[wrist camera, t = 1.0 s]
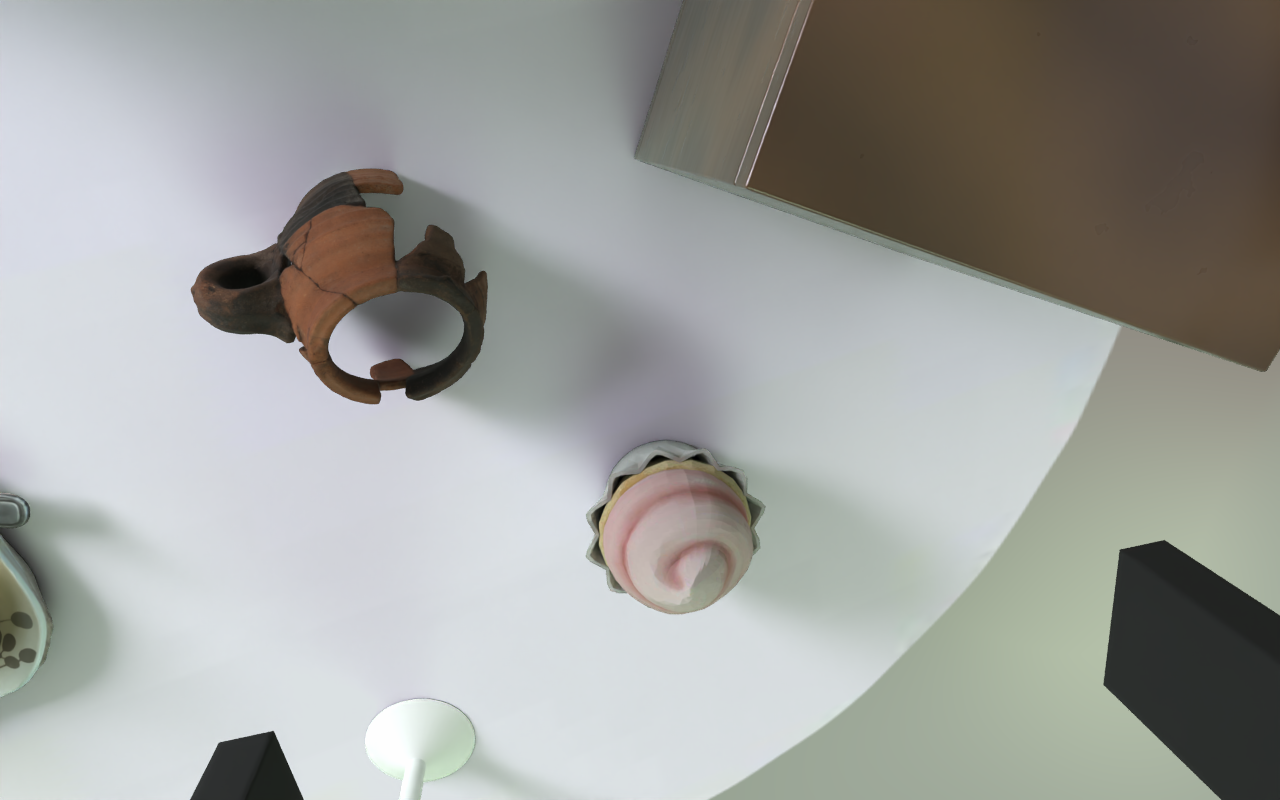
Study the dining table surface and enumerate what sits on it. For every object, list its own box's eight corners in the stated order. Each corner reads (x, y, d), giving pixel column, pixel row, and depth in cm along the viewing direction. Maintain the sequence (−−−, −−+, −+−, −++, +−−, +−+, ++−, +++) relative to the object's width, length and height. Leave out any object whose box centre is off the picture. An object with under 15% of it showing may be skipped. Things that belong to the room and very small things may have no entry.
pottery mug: (455, 144, 34) (499, 242, 29) (467, 301, 41) (504, 404, 36) (163, 166, 30) (156, 285, 25) (230, 337, 37) (235, 458, 32)
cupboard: (727, -143, 31) (1008, -545, 13) (1030, -2, 35) (1591, -153, 16) (633, 158, 35) (744, 188, 16) (915, 257, 39) (1266, 373, 20)
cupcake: (664, 378, 39) (704, 454, 30) (771, 483, 42) (837, 582, 33) (542, 492, 41) (545, 599, 31) (655, 586, 44) (688, 709, 34)
